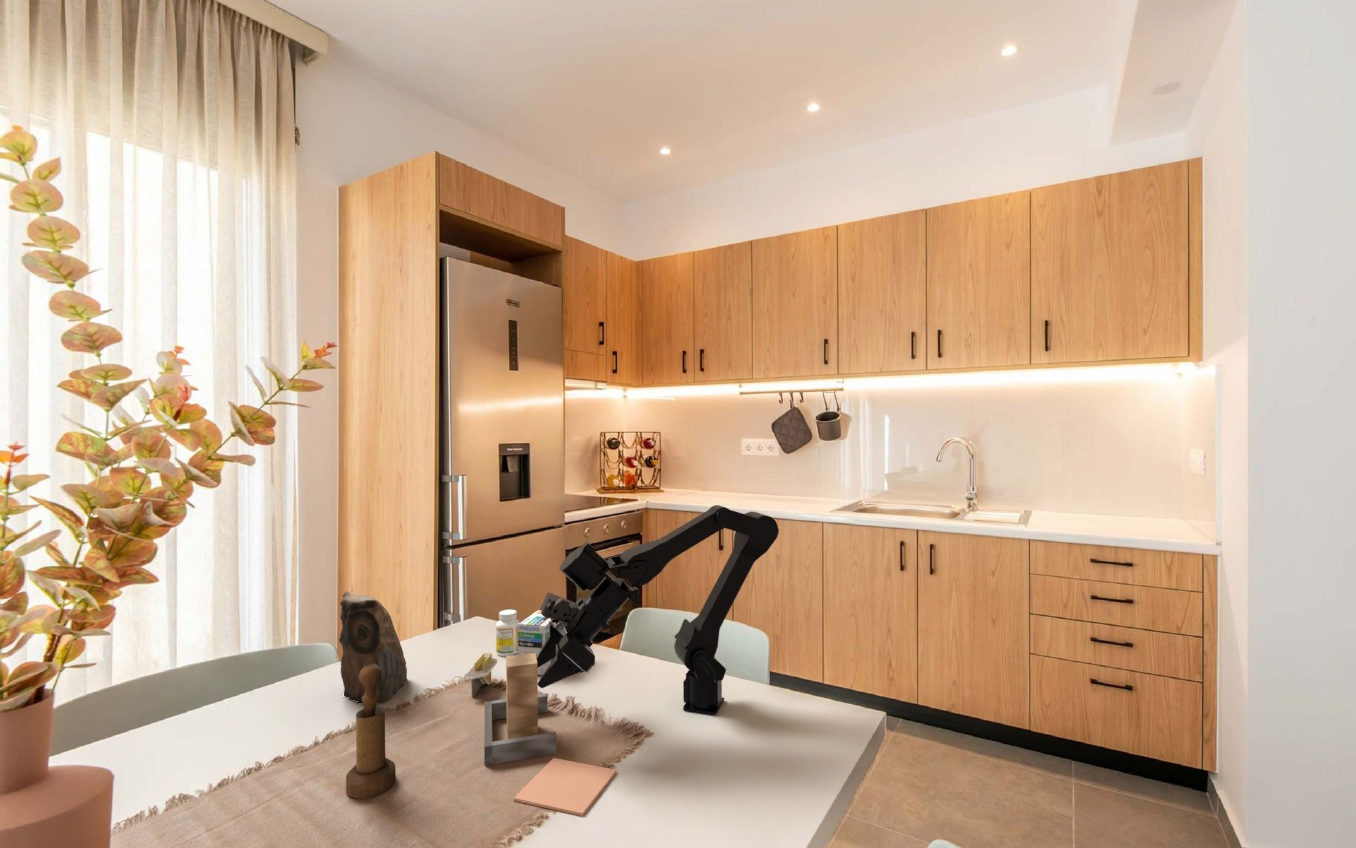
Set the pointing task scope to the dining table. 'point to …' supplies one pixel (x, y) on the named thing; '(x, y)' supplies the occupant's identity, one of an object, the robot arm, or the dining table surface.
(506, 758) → the nook
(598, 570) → the robot arm
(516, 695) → the block
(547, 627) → the light bulb box
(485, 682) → the platform
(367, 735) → the mortar and pestle
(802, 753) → the dining table surface
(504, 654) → the supplement bottle
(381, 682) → the owl
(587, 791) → the mat
